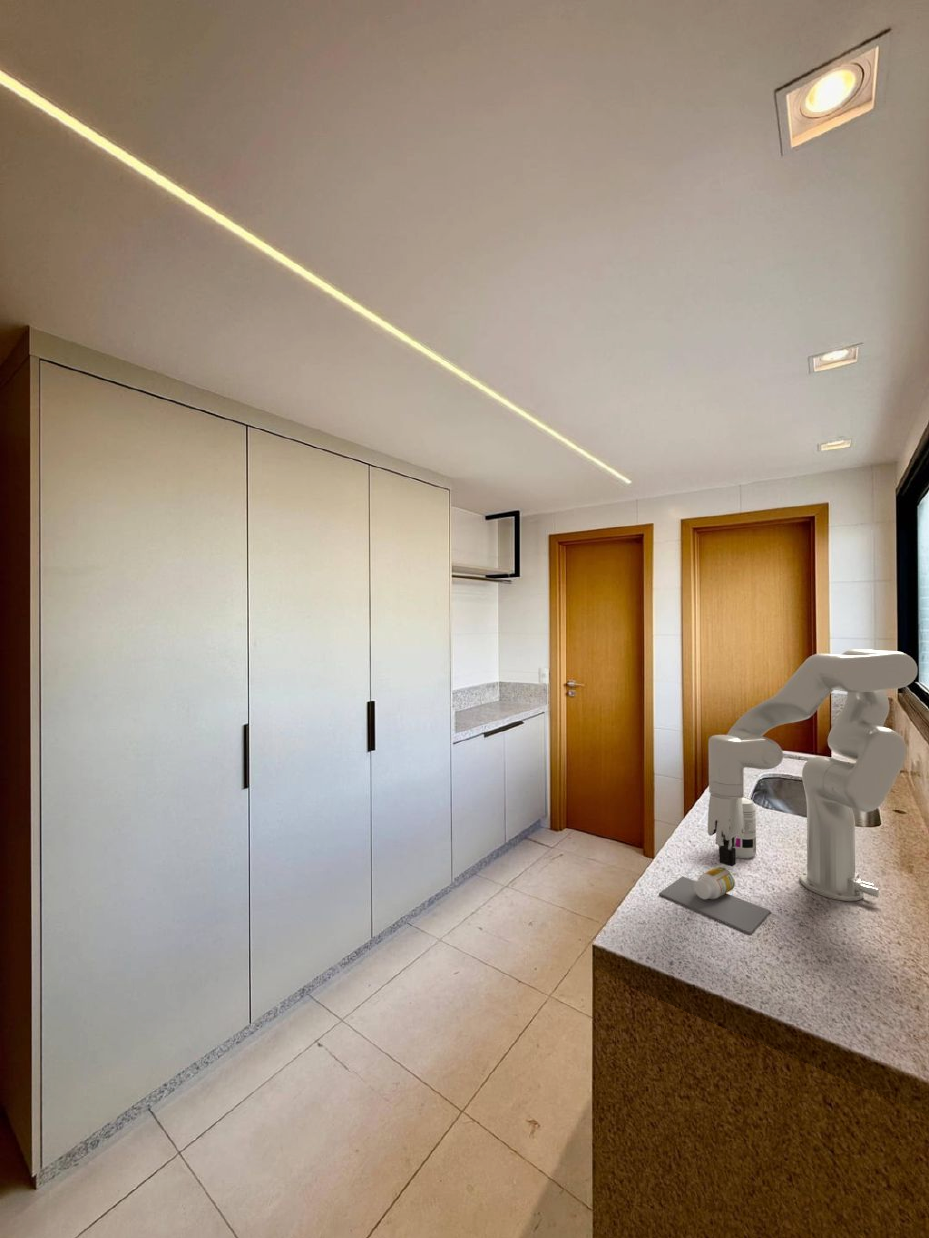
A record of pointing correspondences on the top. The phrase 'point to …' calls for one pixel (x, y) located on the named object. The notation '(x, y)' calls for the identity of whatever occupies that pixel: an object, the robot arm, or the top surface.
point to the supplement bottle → (714, 883)
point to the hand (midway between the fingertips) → (727, 863)
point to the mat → (717, 906)
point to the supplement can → (747, 831)
